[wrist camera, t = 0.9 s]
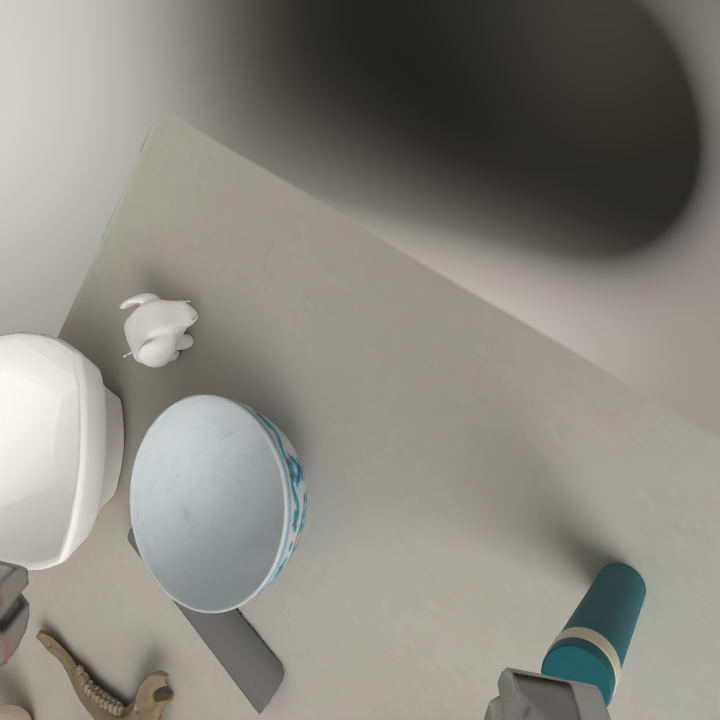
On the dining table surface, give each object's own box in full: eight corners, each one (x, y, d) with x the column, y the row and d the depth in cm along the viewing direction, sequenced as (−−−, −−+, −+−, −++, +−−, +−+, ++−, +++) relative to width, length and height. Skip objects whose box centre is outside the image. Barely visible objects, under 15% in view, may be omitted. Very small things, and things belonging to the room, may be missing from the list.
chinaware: (385, 490, 43) (326, 505, 36) (274, 624, 47) (203, 660, 40) (266, 359, 49) (197, 351, 42) (178, 487, 53) (102, 498, 47)
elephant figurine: (224, 343, 52) (171, 335, 46) (168, 390, 55) (112, 388, 50) (198, 281, 54) (144, 268, 49) (145, 330, 57) (90, 322, 52)
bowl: (28, 530, 64) (-60, 546, 57) (42, 342, 65) (-43, 333, 58) (159, 565, 54) (72, 590, 46) (172, 339, 55) (90, 329, 48)
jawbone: (187, 769, 51) (168, 784, 49) (49, 712, 61) (29, 723, 60) (181, 663, 51) (162, 675, 49) (44, 625, 62) (24, 633, 60)
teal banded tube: (634, 557, 34) (595, 637, 22) (655, 604, 33) (626, 714, 21) (589, 568, 35) (528, 650, 23) (607, 614, 35) (555, 723, 23)
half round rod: (266, 714, 47) (251, 724, 45) (136, 543, 55) (119, 547, 54) (292, 676, 46) (277, 685, 44) (155, 508, 54) (139, 511, 53)
